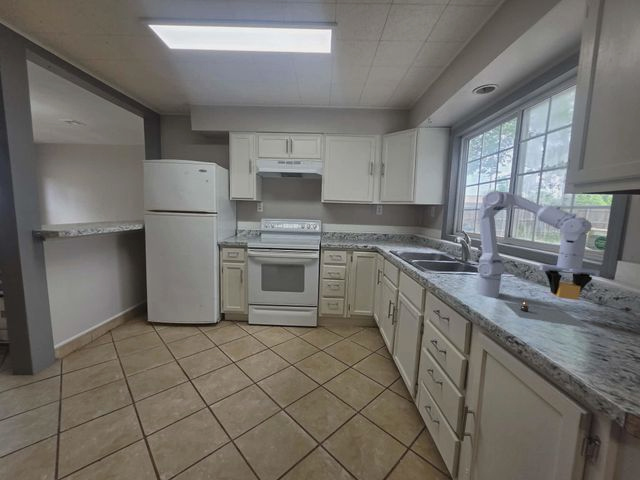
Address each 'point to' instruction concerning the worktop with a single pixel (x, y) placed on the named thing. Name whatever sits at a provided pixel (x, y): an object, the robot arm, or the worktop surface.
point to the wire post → (524, 307)
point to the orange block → (568, 290)
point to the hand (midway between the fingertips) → (564, 294)
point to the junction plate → (545, 315)
